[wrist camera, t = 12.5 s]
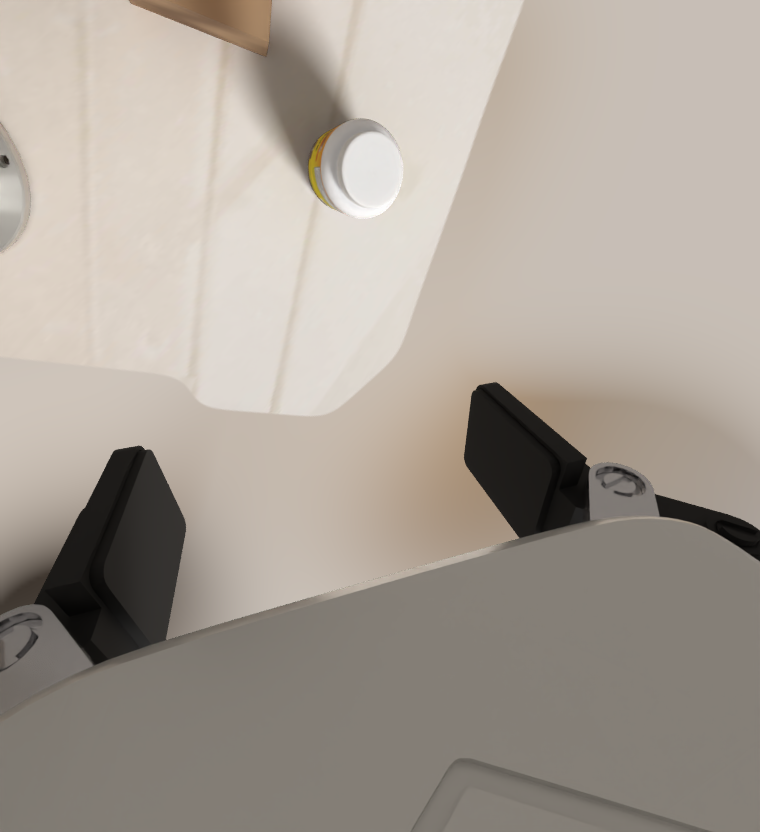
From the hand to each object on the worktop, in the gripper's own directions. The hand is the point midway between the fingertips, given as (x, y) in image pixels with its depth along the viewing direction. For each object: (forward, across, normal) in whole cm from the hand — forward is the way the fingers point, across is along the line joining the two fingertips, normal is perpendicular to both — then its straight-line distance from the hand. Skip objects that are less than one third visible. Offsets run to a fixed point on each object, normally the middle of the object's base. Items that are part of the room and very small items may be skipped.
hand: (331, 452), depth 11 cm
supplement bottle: (+28, -6, -7) cm, 29 cm away
